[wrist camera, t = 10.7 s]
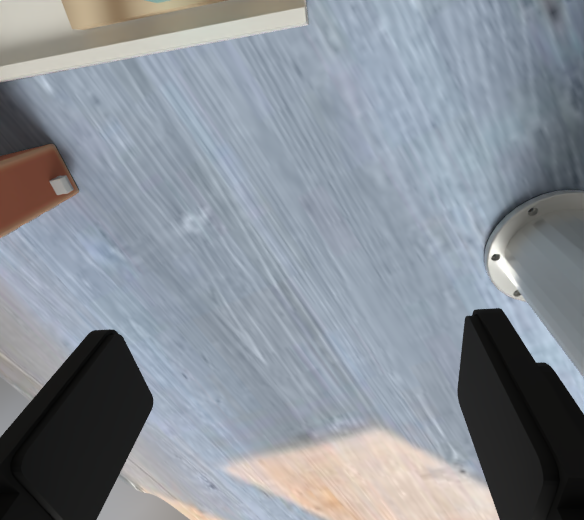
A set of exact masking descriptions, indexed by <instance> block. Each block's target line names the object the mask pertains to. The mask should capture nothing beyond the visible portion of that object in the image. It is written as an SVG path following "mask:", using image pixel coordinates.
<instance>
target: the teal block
mask: <svg viewBox="0 0 584 520" xmlns="http://www.w3.org/2000/svg"><path fill="white" fill-rule="evenodd" d="M146 1H150V2H154V3H160V2H165V1H170V0H146Z"/></svg>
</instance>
